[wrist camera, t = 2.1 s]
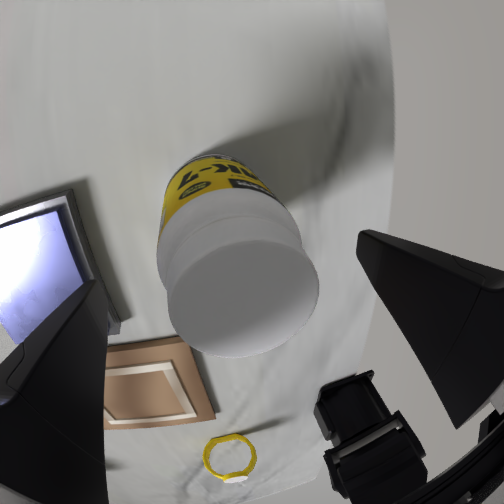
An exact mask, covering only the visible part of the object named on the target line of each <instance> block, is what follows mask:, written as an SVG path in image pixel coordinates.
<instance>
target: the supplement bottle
mask: <svg viewBox="0 0 504 504" xmlns="http://www.w3.org/2000/svg"><path fill="white" fill-rule="evenodd" d="M157 266H158V271H159V275H160V278H161V281H162V283H163V285H164V287H165V289H166V290H167V297H168V312H169V317H170V320H171V323H172V325H173V327H174V329H175V331H176V332H177V334H178V335H179V336H180V337H181V338H182V340H183V341H185V342H186V343H187V344H188V345H189V346H191V347H192V348H194V349H196V350H198V351H200V352H202V353H205V354H208V355H212V356H217V357H224V358H240V357H248V356H253V355H257V354H260V353H264V352H266V351H269V350H271V349H273V348H275V347H277V346H279V345H281V344H283V343H284V342H286V341H287V340H288V339H290V338H291V337H293V336H294V335H295V334H296V333H297V332H298V331H299V330H300V329H301V328H302V327H303V326H304V325H305V324H306V322H307V321H308V319H309V318H310V316H311V315H312V313H313V311H314V309H315V306H316V304H317V300H318V296H319V279H318V275H317V272H316V270H315V267H314V265H313V263H312V262H311V260H310V259H309V257H308V256H307V254H306V252H305V251H304V249H303V247H302V241H301V236H300V232H299V229H298V227H297V224H296V222H295V221H294V219H293V217H292V215H291V214H290V213H289V212H288V210H287V209H286V208H285V206H284V205H283V204H282V203H281V202H280V201H279V200H278V199H277V198H276V197H275V196H274V195H273V194H272V193H271V192H270V190H269V189H268V188H267V187H266V186H265V185H264V184H263V183H262V182H261V181H260V180H259V179H258V178H257V177H256V176H255V175H254V174H253V173H252V172H251V170H249V169H248V168H247V167H246V166H245V165H244V164H242V163H241V162H240V161H238V160H236V159H234V158H232V157H229V156H225V155H218V154H212V155H205V156H200V157H197V158H195V159H192V160H190V161H188V162H187V163H185V164H184V165H182V166H181V167H180V168H179V169H178V170H177V171H176V172H175V174H174V175H173V176H172V178H171V179H170V181H169V183H168V186H167V189H166V192H165V196H164V203H163V209H162V216H161V222H160V230H159V237H158V245H157Z"/></svg>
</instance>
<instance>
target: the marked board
mask: <svg viewBox="0 0 504 504" xmlns="http://www.w3.org/2000/svg"><path fill="white" fill-rule="evenodd" d="M214 419H216V416H215V412H214V410H213V407H212V405H211V402H210V400H209V397H208V394H207V392H206V389H205V386H204V384H203V381H202V378H201V376H200V373H199V370H198V367H197V364H196V361H195V359H194V356H193V353H192V350H191V347H190V346H189V345H188V344H187V343H186V342H185V341H183V340H182V338H181V337H180V336H178V337H172V338H166V339H159V340H153V341H146V342H139V343H132V344H124V345H116V346H108V347H107V357H106V370H105V388H104V429H105V430H112V429H137V428H151V427H162V426H172V425H180V424H188V423H195V422H202V421H208V420H214Z"/></svg>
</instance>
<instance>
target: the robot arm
mask: <svg viewBox="0 0 504 504" xmlns="http://www.w3.org/2000/svg"><path fill="white" fill-rule="evenodd" d="M356 255H357V258H358V260H359V262H360V264H361V265H362V267H363V269H364V271H365V273H366V275H367V276H368V278H369V280H370V282H371V284H372V286H373V287H374V289H375V291H376V292H377V294H378V295H379V297H380V298H381V300H382V301H383V303H384V304H385V306H386V308H387V309H388V311H389V312H390V314H391V315H392V317H393V318H394V320H395V322H396V323H397V325H398V326H399V328H400V329H401V331H402V333H403V334H404V336H405V338H406V339H407V341H408V342H409V344H410V346H411V348H412V349H413V351H414V352H415V354H416V356H417V358H418V360H419V361H420V363H421V365H422V366H423V368H424V370H425V372H426V374H427V375H428V377H429V379H430V381H431V383H432V385H433V386H434V388H435V390H436V392H437V394H438V396H439V398H440V400H441V401H442V403H443V405H444V407H445V409H446V411H447V413H448V415H449V417H450V419H451V421H452V423H453V425H454V427H455V428H456V429H458V428H460V427H461V426H462V425H463V424H464V423H466V422H467V421H469V420H470V419H471V418H472V417H473V416H475V415H476V414H477V413H478V412H479V411H481V410H482V409H483V408H484V407H485V406H486V405H487V404H488V403H490V402H491V403H492V405H493V406H494V407H495V410H494V411H493V412H492V413H491V414H490V415H489V416H488V417H487V418H486V419H485V420H484V421H482V422H481V423H480V431H479V438H478V444H477V445H476V446H475V447H474V448H473V449H472V450H470V451H469V452H468V453H467V454H466V455H464V456H463V457H462V458H461V459H459V460H458V461H457V462H456V463H454V464H453V465H452V466H451V467H449V468H448V469H446V470H445V471H443V472H442V473H441V474H439V475H438V476H436V477H435V478H434V479H432V480H431V481H429V482H428V483H427V474H428V473H427V472H428V471H427V469H426V467H425V465H424V463H423V461H422V460H421V459H422V458H423V457H425V456H426V453H425V451H424V449H423V447H422V445H421V443H420V441H419V440H418V438H417V436H416V435H415V433H414V432H413V430H412V429H411V427H410V426H409V424H408V423H407V421H406V420H405V418H404V417H403V416H402V414H401V413H400V411H399V410H398V411H396V412H395V413H394V414H393V415H391V413H390V411H389V410H388V408H387V406H386V405H385V403H384V401H383V400H382V398H381V397H380V395H379V393H378V392H377V390H376V388H375V387H374V385H373V384H372V382H371V380H372V378H373V376H374V371H373V370H369V371H367V372H364V373H362V374H359V375H356V376H354V377H351V378H349V379H346V380H343V381H340V382H337V383H335V384H332V385H329V386H326V387H323V388H321V389H320V391H319V395H318V399H317V402H316V404H315V408H314V412H313V413H314V415H315V418H316V420H317V422H318V424H319V427H320V429H321V431H322V433H323V436H324V438H325V440H327V441H328V440H331V441H332V444H333V446H334V448H332V449H328V450H326V451H325V455H324V456H323V457H324V459H325V462H326V464H327V467H328V470H329V475H330V479H331V484H332V488H333V490H334V491H337V492H339V493H340V494H341V495H342V496H343V498H344V499H348V498H349V499H350V501H351V503H352V504H504V271H502V270H499V269H495V268H491V267H489V266H485V265H482V264H479V263H476V262H472V261H469V260H466V259H463V258H460V257H457V256H454V255H451V254H448V253H445V252H442V251H439V250H436V249H433V248H430V247H427V246H424V245H420V244H417V243H414V242H411V241H408V240H404V239H401V238H398V237H394V236H391V235H388V234H384V233H381V232H377V231H374V230H370V229H368V230H362V231H360V232H359V234H358V240H357V248H356ZM107 345H108V302H107V299H106V296H105V294H104V292H103V289H102V287H101V284H100V282H99V281H98V280H97V279H92V280H87V281H85V282H84V283H83V284H82V285H81V286H80V287H79V288H77V289H76V290H75V291H74V292H73V293H72V294H71V295H70V296H69V297H67V298H66V299H65V300H64V301H63V302H62V303H61V304H60V305H59V306H58V307H57V308H56V309H55V310H54V311H52V312H51V313H50V314H49V315H48V316H47V317H46V318H45V319H44V320H43V321H42V322H41V323H40V324H39V325H38V326H37V327H36V328H35V329H34V330H33V331H32V332H31V333H30V334H29V335H28V336H27V337H26V338H25V339H24V340H23V342H21V343H20V344H19V345H18V346H17V347H16V348H15V349H14V350H13V352H12V353H11V354H10V355H9V356H8V357H7V358H6V359H5V360H4V361H3V362H2V363H1V364H0V504H109V500H108V491H107V481H106V469H105V465H104V464H105V455H104V388H105V370H106V357H107ZM396 427H399V428H400V429H398V430H397V429H396Z"/></svg>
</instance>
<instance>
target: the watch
mask: <svg viewBox="0 0 504 504" xmlns="http://www.w3.org/2000/svg"><path fill="white" fill-rule="evenodd" d="M235 439H238V440H241V441H243V442H245V443H247V444H248V446H249V447H250V449H251V454H252V458H251V460H250V463H249V466H248V467H246V468H245V469H244V470H243V471H239V472H233V473H229V474H226V475H221V474H218V473H216V472H215V471H214V470H213V469H212V468H211V466H210V462H209V456H210V452H211V450H212V449H213V447H214V446H215V445H216V444H217V443H222V442H226V441H231V440H235ZM202 458H203V462H204V465H205V467H206V468H207V469H208V470H209V471H210V472H211V473H212V474H213V475H214V476H216V477H218V478H221V479H223V481H224V482H225V483H235V482H240V481H243V480H246V479H247V478H248V474H249V473H250V472H251V471H252V470H253V469H254V466H255V464H256V461H257V455H256V450H255V448H254V446H253V445H252V444H251V443H250V441H249V440H248V439H247V438H245V437H244V436H241V435H239V434H235V433H234V434H231V435H227V436H223V437H219V438H214V439H211V440H210V441H209V442H208V444H207V445H206V447H205V448H204V452H203V457H202Z"/></svg>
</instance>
